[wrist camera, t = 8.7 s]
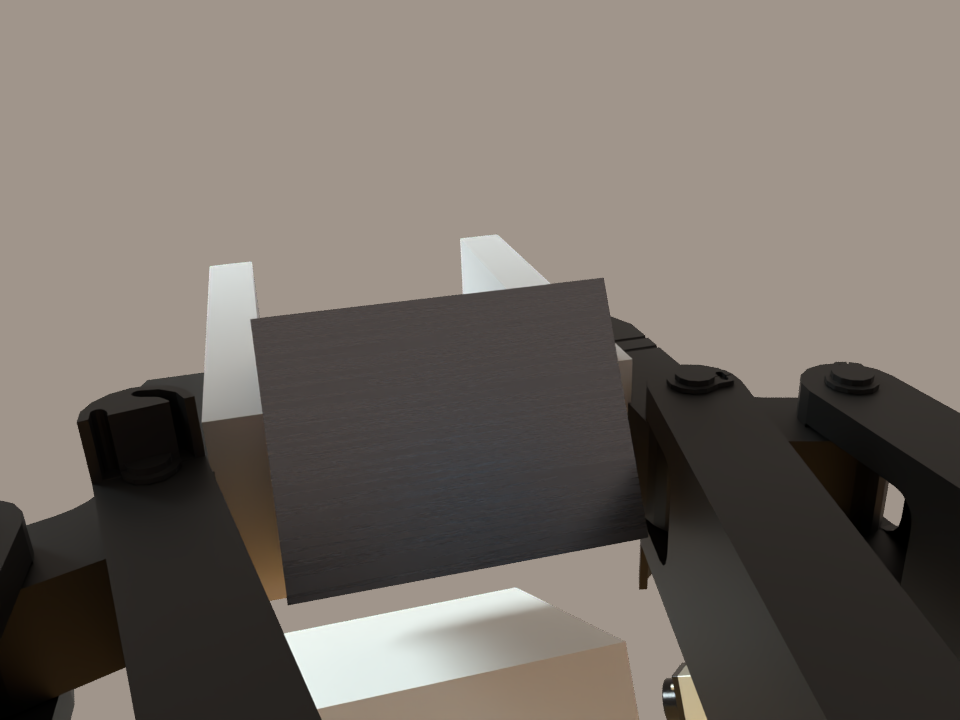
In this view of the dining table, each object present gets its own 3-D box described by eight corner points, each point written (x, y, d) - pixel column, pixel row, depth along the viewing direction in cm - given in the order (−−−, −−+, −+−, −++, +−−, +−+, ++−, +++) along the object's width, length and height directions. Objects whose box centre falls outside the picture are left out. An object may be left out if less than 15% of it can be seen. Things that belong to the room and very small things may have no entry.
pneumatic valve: (802, 792, 82) (777, 659, 83) (677, 790, 86) (655, 665, 88) (808, 768, 86) (784, 643, 88) (689, 768, 91) (668, 650, 93)
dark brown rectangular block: (689, 529, 10) (637, 240, 10) (238, 614, 9) (196, 287, 9) (429, 497, 30) (414, 396, 30) (276, 523, 28) (262, 417, 29)
